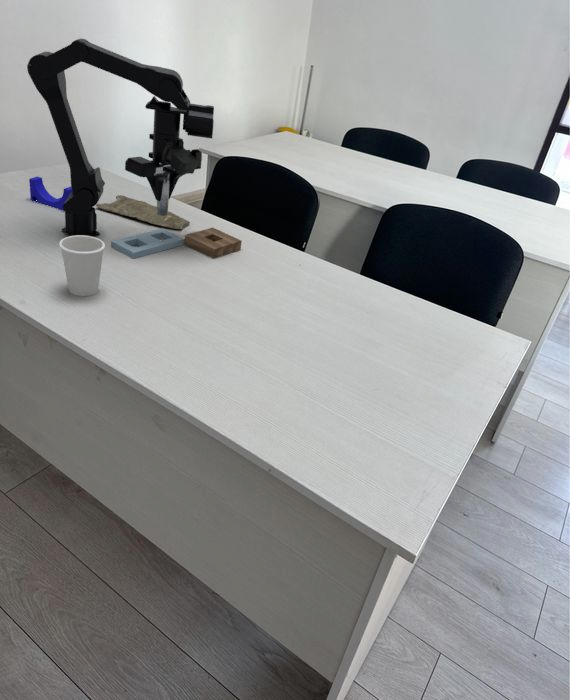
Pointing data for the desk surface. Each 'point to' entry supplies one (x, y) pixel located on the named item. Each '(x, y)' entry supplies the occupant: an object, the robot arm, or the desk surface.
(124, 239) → the block
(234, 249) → the socket block
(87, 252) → the dixie cup
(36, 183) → the blue semicircular cradle block
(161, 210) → the grey cylindrical peg
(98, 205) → the stone tool
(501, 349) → the desk surface
